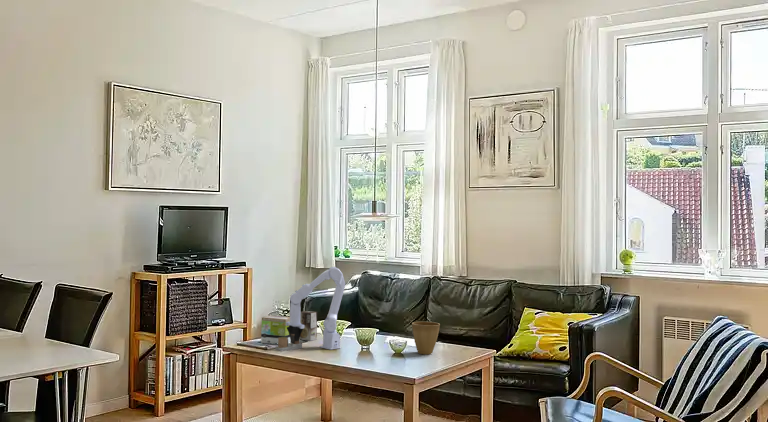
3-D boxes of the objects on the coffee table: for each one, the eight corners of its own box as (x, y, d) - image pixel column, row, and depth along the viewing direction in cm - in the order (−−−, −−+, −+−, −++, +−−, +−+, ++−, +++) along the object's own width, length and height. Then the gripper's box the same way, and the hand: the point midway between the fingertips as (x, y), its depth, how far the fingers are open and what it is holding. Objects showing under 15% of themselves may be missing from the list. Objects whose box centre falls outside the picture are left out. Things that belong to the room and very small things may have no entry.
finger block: (299, 343, 379) (299, 334, 380) (293, 344, 377) (294, 335, 377) (295, 342, 382) (295, 333, 382) (290, 343, 380) (290, 334, 380)
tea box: (260, 343, 392) (261, 317, 392) (268, 340, 401) (269, 314, 401) (284, 345, 387) (285, 318, 387) (292, 342, 397) (293, 316, 397)
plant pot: (437, 356, 364) (438, 326, 364) (409, 355, 367) (409, 324, 367) (440, 351, 379) (441, 322, 379) (413, 349, 382) (414, 320, 382)
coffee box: (317, 339, 408) (317, 311, 408) (310, 341, 403) (311, 313, 403) (305, 337, 413) (305, 310, 413) (298, 339, 408) (298, 311, 408)
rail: (302, 348, 380) (302, 336, 380) (280, 351, 370) (280, 338, 370) (296, 346, 384) (296, 334, 384) (275, 349, 374) (275, 337, 374)
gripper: (281, 314, 382) (280, 339, 382) (297, 317, 372) (296, 343, 371) (292, 313, 387) (291, 337, 387) (307, 316, 376) (307, 341, 376)
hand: (294, 340), depth 380 cm, fingers closed on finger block, 3 cm apart
